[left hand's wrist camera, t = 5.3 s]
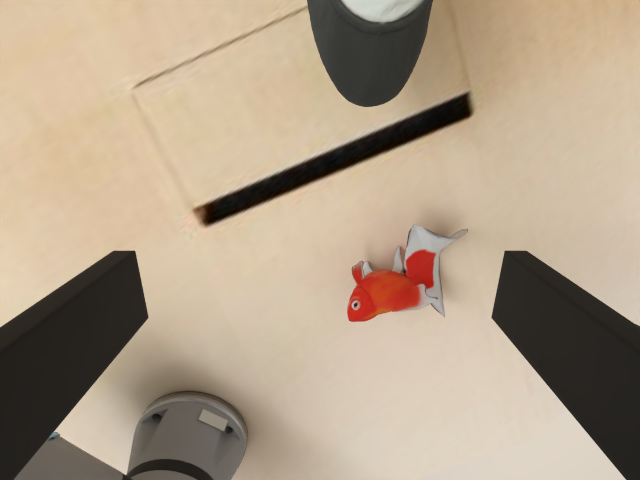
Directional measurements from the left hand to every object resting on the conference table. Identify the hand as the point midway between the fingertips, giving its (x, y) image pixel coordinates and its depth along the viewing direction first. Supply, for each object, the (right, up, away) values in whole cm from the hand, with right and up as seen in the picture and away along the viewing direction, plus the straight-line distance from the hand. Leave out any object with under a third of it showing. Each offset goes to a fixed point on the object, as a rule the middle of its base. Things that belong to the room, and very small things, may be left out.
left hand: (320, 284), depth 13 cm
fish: (+10, 0, +29) cm, 31 cm away
